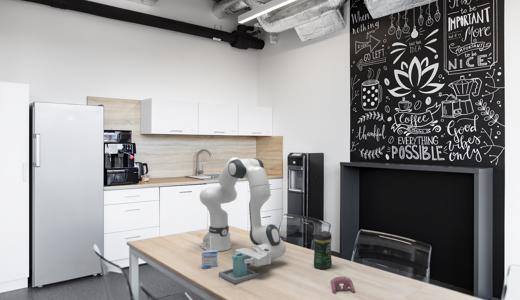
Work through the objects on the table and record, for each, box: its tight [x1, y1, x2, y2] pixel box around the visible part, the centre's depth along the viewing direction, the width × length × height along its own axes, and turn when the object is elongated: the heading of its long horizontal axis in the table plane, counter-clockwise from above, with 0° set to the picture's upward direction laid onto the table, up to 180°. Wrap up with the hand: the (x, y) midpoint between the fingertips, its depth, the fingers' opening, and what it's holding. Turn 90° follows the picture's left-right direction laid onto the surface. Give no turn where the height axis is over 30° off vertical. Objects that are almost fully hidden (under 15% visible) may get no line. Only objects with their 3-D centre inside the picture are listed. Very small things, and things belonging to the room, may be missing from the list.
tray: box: [218, 268, 259, 285], centre depth 177 cm, size 14×14×2 cm
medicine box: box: [201, 250, 218, 270], centre depth 192 cm, size 8×4×9 cm, turn 105°
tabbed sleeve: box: [231, 253, 248, 278], centre depth 177 cm, size 5×6×10 cm
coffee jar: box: [313, 230, 333, 270], centre depth 189 cm, size 10×8×19 cm
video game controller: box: [330, 276, 355, 294], centre depth 158 cm, size 10×5×7 cm, turn 94°
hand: (238, 259), depth 177 cm, fingers open, 8 cm apart
